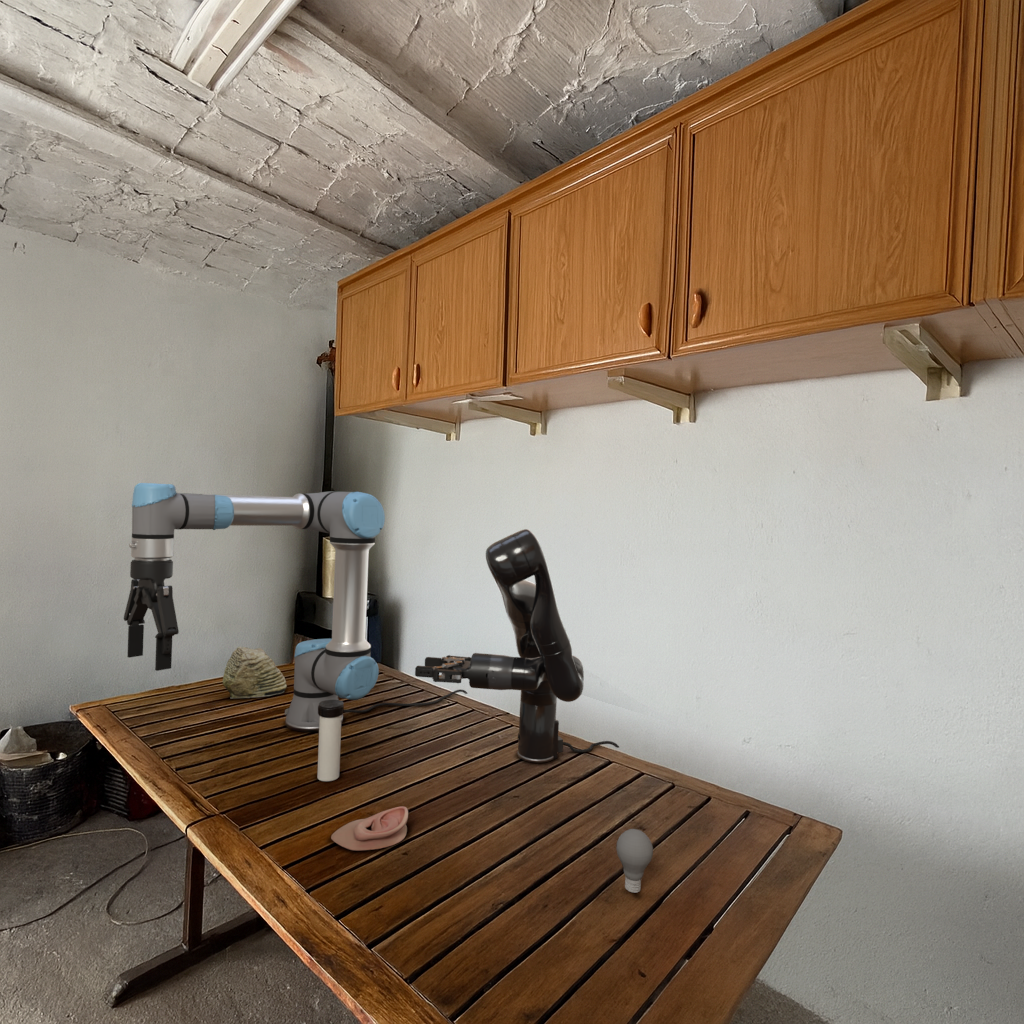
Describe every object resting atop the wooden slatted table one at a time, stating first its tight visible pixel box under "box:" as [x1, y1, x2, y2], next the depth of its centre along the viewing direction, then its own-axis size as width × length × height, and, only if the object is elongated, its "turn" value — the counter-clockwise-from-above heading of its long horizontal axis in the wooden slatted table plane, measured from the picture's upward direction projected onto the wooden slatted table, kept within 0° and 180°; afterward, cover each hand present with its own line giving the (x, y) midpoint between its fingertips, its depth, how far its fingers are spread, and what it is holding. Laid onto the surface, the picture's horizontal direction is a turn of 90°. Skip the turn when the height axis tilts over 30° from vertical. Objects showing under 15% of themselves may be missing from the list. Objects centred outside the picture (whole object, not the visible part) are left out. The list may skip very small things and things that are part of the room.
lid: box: [318, 699, 345, 718], centre depth 143 cm, size 6×6×2 cm
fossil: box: [222, 646, 288, 699], centre depth 198 cm, size 9×18×15 cm, turn 132°
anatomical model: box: [330, 805, 409, 852], centre depth 119 cm, size 13×4×12 cm
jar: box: [316, 715, 342, 782], centre depth 143 cm, size 5×5×16 cm
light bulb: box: [615, 828, 654, 894], centre depth 106 cm, size 6×6×10 cm
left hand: (148, 662), depth 129 cm, fingers open, 13 cm apart
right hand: (420, 666), depth 141 cm, fingers open, 8 cm apart
